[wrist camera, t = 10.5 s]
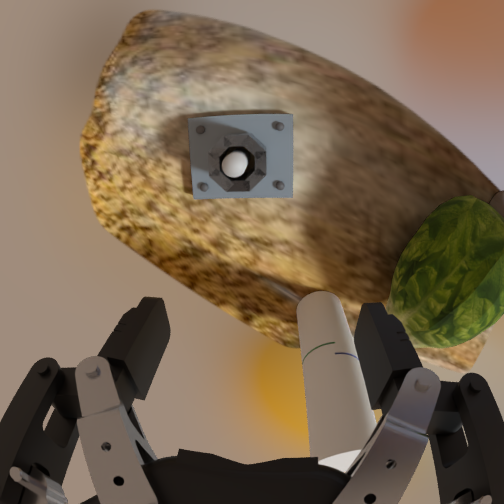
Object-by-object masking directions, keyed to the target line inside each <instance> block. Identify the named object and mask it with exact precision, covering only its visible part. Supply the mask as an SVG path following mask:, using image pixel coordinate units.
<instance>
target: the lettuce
mask: <svg viewBox="0 0 504 504" xmlns="http://www.w3.org/2000/svg"><path fill="white" fill-rule="evenodd" d="M386 311H387V313H388V314H393V315H394V316H395V317H396V318H398V319H399V320H400V321H401V322H402V324H403V326H404V328H405V330H406V333H407V334H408V336H409V338H410V341H411V342H412V344H413V347H414V348H423V347H431V348H447V347H453V346H456V345H459V344H461V343H464V342H466V341H468V340H471V339H472V338H474V337H475V336H477V335H478V334H480V333H481V332H483V331H484V330H486V329H487V328H489V327H490V326H492V325H493V324H495V323H496V322H497V321H498V320H499V318H500V317H501V316H502V315H503V314H504V218H503V217H502V216H501V215H500V214H499V213H498V212H497V211H496V210H495V209H494V208H493V207H492V206H490V205H489V204H487V203H486V202H484V201H482V200H480V199H478V198H476V197H474V196H472V195H468V196H458V197H454V198H452V199H450V200H448V201H447V202H445V203H443V204H441V205H439V206H438V207H437V208H436V209H435V210H434V211H433V212H432V213H431V214H430V215H429V216H428V217H427V218H426V220H425V221H424V223H423V224H422V226H421V227H420V228H419V230H418V231H417V233H416V234H415V235H414V236H413V238H412V239H411V240H410V242H409V243H408V244H407V246H406V247H405V249H404V251H403V252H402V254H401V256H400V258H399V261H398V263H397V266H396V269H395V272H394V275H393V278H392V284H391V292H390V295H389V298H388V302H387V305H386Z"/></svg>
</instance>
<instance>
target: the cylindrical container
mask: <svg viewBox="0 0 504 504" xmlns="http://www.w3.org/2000/svg"><path fill="white" fill-rule="evenodd" d="M296 312H297V321H298V330H299V338H300V347H301V356H302V365H303V375H304V385H305V396H306V407H307V418H308V430H309V443H310V457H318V464H320V465H325V466H329V467H332V468H335V469H338V470H340V471H342V472H345V471H347V469H348V468H349V467H350V465H351V464H352V463H353V461H354V460H355V459H356V457H357V456H358V454H359V453H360V451H361V450H362V448H363V447H364V445H365V443H366V442H367V440H368V439H369V437H370V435H371V433H372V432H373V430H374V428H375V427H376V425H377V423H376V419H375V415H374V411H373V410H371V406H370V402H369V398H368V393H367V389H366V385H365V382H364V378H363V374H362V370H361V366H360V363H359V359H358V355H357V352H356V348H355V344H354V341H353V338H352V335H351V332H350V329H349V326H348V323H347V320H346V317H345V314H344V311H343V308H342V305H341V302H340V300H339V298H338V297H337V296H336V295H335V294H333V293H331V292H327V291H317V292H313V293H310V294H308V295H307V296H305V297H304V298H303V299H302V300H301V301H300V302H299V304H298V306H297V310H296Z"/></svg>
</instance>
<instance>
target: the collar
mask: <svg viewBox="0 0 504 504" xmlns="http://www.w3.org/2000/svg"><path fill="white" fill-rule="evenodd" d="M235 146H244V147H245V148H246V149H247V150H248V151H250V152H251V153H252V154H253V155H254V156H255V166H253V167H252V168H251V169H250V170H249V171H248V172H244V173H243V174H242V175H241V176H239V177H229V176H227V175H226V174H225V173H224V171H223V169H222V162H223V160H224V158H225V157H226V156H227V155H226V152H227V151H228V150H229V149H230V148H231V147H235ZM208 169H209V177H210V178H211V179H213V180H214V181H215V182H216V183H217V184H218V185H219V186H220V187H221V188H223V189H224V190H225V191H226V192H250V191H251V190H252V189H253V188H254V187H255V186H256V185H257V184H258V183H259V182H260V181H261V180H262V179H263V178H264V177H265V176H266V170H267V166H266V146H264V145H263V144H262V143H261V142H260V141H259V140H258V139H257V138H256V137H255V136H254V135H253V134H252V133H239V134H228V135H225V136H223V137H222V138H221V139H220V140H219V141H218V142H217V144H216V145H215V146H214V147H213V148H212V149H211V150H210V151H209V152H208Z"/></svg>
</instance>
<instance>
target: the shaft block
mask: <svg viewBox="0 0 504 504" xmlns="http://www.w3.org/2000/svg"><path fill="white" fill-rule="evenodd" d="M188 132H189V148H190V162H191V174H192V186H193V197H194V199H216V198H293V114H243V115H224V116H210V117H199V118H189V119H188ZM239 133H252V134H253V135H254V136H255V137H256V138H257V139H258V140H259V141H260V142H261V143H262V144H263V145H264V146H266V166H267V170H266V176H265V177H264V178H263V179H262V180H261V181H260V182H259V183H258V184H257V185H256V186H255V187H254V188H253V189H252V190H251V191H250V192H226V191H225V190H224V189H223V188H221V187H220V186H219V185H218V184H217V183H216V182H215V181H214V180H213V179H211V178H210V177H209V169H208V152H209V151H210V150H211V149H212V148H213V147H214V146H215V145H216V144H217V142H218V141H219V140H220V139H221V138H222V137H223V136H225V135H228V134H239ZM226 155H227V156H226V157H225V158H224V160H223V162H222V169H223V171H224V173H225V174H226V175H227V176H229V177H239V176H241V175H242V174H243V173H244V172H248V171H249V170H250V169H251V168H252V167H253V166H255V156H254V155H253V154H252V153H251V152H250V151H248V150H247V149H246V148H245V147H244V146H235V147H231V148H230V149H229V150H228V151H227V152H226Z"/></svg>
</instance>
